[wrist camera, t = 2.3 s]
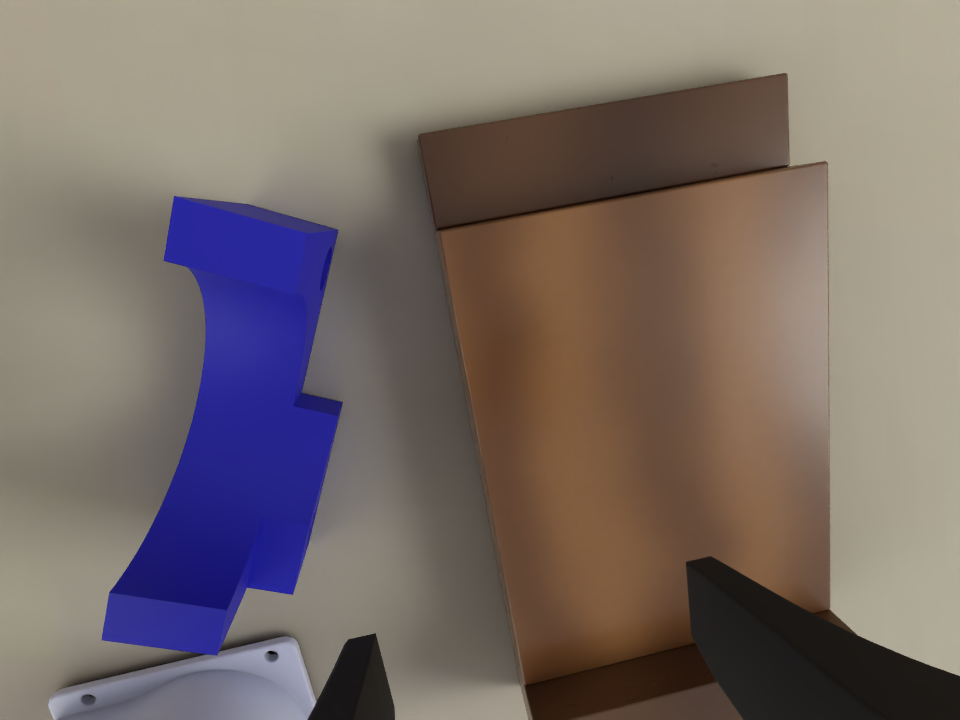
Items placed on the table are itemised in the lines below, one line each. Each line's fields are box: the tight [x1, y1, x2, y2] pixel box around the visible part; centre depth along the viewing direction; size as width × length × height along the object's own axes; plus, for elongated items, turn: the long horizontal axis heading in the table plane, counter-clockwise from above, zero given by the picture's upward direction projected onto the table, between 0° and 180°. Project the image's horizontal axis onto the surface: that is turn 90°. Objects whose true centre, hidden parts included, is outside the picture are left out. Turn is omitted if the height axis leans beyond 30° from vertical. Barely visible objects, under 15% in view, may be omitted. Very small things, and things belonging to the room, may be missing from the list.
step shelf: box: [417, 73, 858, 720], centre depth 20 cm, size 12×23×5 cm, turn 10°
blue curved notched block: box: [102, 196, 343, 656], centre depth 17 cm, size 12×4×6 cm, turn 164°
